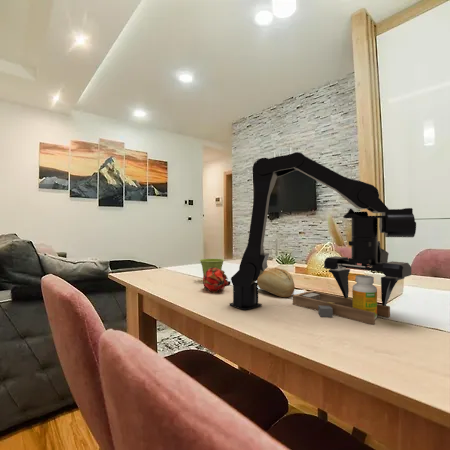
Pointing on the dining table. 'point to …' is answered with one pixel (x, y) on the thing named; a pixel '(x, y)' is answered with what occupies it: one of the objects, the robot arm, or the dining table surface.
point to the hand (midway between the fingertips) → (364, 301)
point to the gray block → (325, 311)
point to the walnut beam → (340, 306)
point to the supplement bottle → (365, 294)
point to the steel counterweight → (312, 296)
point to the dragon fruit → (215, 279)
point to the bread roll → (276, 282)
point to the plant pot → (211, 264)
